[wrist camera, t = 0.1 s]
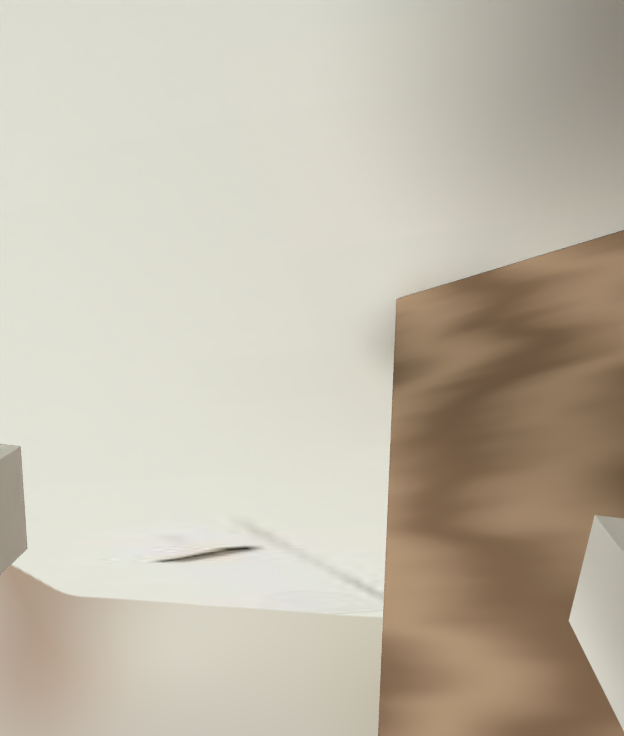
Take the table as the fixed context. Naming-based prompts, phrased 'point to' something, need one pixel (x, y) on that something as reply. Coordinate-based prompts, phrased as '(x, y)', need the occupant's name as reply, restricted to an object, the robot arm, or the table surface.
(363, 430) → the table surface
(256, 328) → the table surface
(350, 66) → the table surface
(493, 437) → the walnut stand
